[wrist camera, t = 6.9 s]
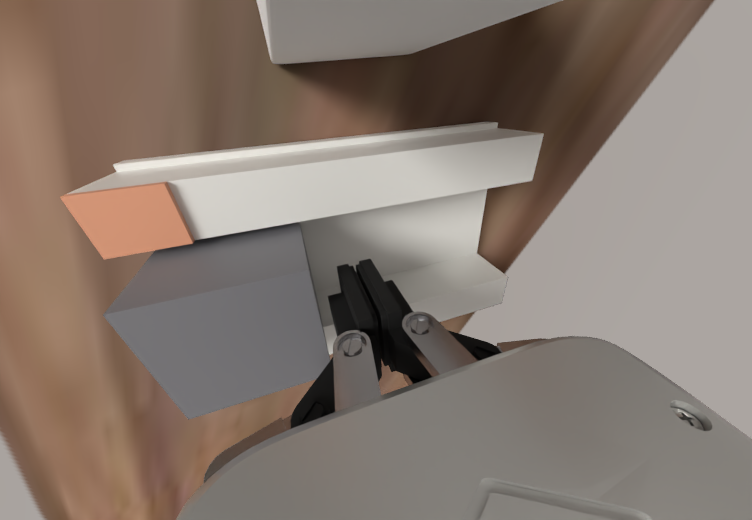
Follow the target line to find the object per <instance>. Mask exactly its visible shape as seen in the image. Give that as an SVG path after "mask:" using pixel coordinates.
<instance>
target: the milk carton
mask: <svg viewBox="0 0 752 520" xmlns="http://www.w3.org/2000/svg"><path fill="white" fill-rule="evenodd" d="M559 1H562V0H257V4H258V8H259V13H260V17H261V21H262V25H263V29H264V33H265V37H266V42H267V46H268V50H269V54H270V58H271V61H272V63H274V64H291V63H305V62H318V61H331V60H344V59H358V58H371V57H384V56H397V55H407V54H412V53H415V52H418V51H420V50H423V49H426V48H429V47H432V46H435V45H437V44H440V43H443V42H446V41H449V40H452V39H454V38H457V37H460V36H463V35H466V34H469V33H471V32H474V31H477V30H480V29H483V28H486V27H488V26H491V25H494V24H497V23H500V22H503V21H505V20H508V19H511V18H514V17H517V16H520V15H522V14H525V13H528V12H531V11H534V10H537V9H539V8H542V7H545V6H548V5H551V4H554V3H556V2H559Z"/></svg>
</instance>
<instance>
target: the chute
mask: <svg viewBox="0 0 752 520" xmlns="http://www.w3.org/2000/svg"><path fill="white" fill-rule="evenodd" d="M497 126H498V122H478V123H469V124H460V125H450V126H441V127H432V128H422V129H413V130H404V131H395V132H385V133H376V134H367V135H357V136H348V137H339V138H329V139H320V140H311V141H302V142H292V143H283V144H274V145H264V146H255V147H246V148H236V149H227V150H218V151H208V152H199V153H190V154H181V155H171V156H162V157H153V158H143V159H134V160H125V161H121V162H119V163H116V164H114V165H113V166H114V168H115V170H116V171H117V172H115V173H113V174H111V175H108V176H106V177H104V178H102V179H99V180H97V181H95V182H93V183H90V184H88V185H86V186H83V187H81V188H79V189H77V190H74V191H72V192H70V193H68V194H65V195H63V196H61V197H60V198H61V199H62V201H63V202H64V204H65V205H66V206H67V208H68V209H69V211H70V212H71V214H72V215H73V216H74V218H75V219H76V221H77V222H78V223H79V225H80V226H81V228H82V229H83V230H84V232H85V233H86V235H87V236H88V237H89V239H90V240H91V242H92V243H93V245H94V246H95V247H96V249H97V250H98V252H99V253H100V254H101V256H102V257H103V259H109V258H114V257H120V256H126V255H131V254H137V253H142V252H148V251H154V250H159V249H165V248H170V247H176V246H182V245H187V244H193V243H194V241H195V240H199V239H205V238H211V237H216V236H222V235H228V234H233V233H239V232H245V231H250V230H256V229H262V228H267V227H273V226H279V225H284V224H290V223H296V222H300V225H301V229H302V234H303V238H304V242H305V247H306V251H307V256H308V260H309V264H310V269H311V273H312V277H313V282H314V286H315V290H316V295H317V300H318V305H319V309H320V314H321V319H322V324H323V328H324V333H325V338H326V343H327V347H328V352H329V355H330V354H333V344H334V341H335V340H336V338H337V334H336V330H335V326H334V323H333V318H332V314H331V310H330V305H329V300H328V296H329V295H333V294H337V293H341V289H340V283H339V277H338V272H337V266H340V265H344V264H348V265H349V266H353V267H354V269H355V271H356V265H357V264H359V261H361V260H366V259H371V260H372V262H373V264H374V265H375V267H376V268H377V270H378V272H379V273H380V275H381V277H382V278H383V280H384V282H385V281H389V280H393V282H394V283H395V285H396V286H397V288H398V289H399V291H400V292H401V294H402V295H403V297H404V298H405V300H406V301H407V303H408V304H409V306H410V307H411V309H412V310H413V312H426V313H428V314H430V315H432V316H433V317H434V318H435V319H436V320H437V321H438V322H441V321H444V320H448V319H451V318H454V317H458V316H461V315H464V314H468V313H471V312H474V311H478V310H481V309H485V308H487V307H491V306H494V305H498V304H501V303H502V300H503V296H504V292H505V288H506V284H507V280H508V277H507V276H506V275H505V274H504V273H502V272H501V271H500V270H498V269H497V268H496V267H494V266H493V265H492V264H490V263H489V262H488V261H486V260H485V259H484V258H482V257H481V256H480V255H478V254H477V249H478V243H479V237H480V231H481V224H482V218H483V212H484V206H485V200H486V194H487V189H488V188H494V187H500V186H505V185H511V184H517V183H522V182H528V181H532V180H533V176H534V172H535V168H536V164H537V160H538V156H539V152H540V148H541V143H542V139H543V135H544V133H535V132H527V131H519V130H510V129H502V128H497Z"/></svg>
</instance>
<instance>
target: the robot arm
mask: <svg viewBox="0 0 752 520" xmlns="http://www.w3.org/2000/svg"><path fill="white" fill-rule="evenodd" d="M337 272H338V277H339V283H340V289H341V293H337V294H333V295H329V296H328V300H329V305H330V310H331V314H332V318H333V323H334V326H335V330H336V334H337V338H336V340H335V341H334V344H333V358H332V359H331V360H330V362H329V363H328V365H327V366H326V367H325V369H324V370H323V371H322V373H321V374H320V375H319V377H318V378H317V379H316V381H315V382H314V383H313V385H312V386H311V387H310V389H309V390H308V391H307V393H306V394H305V395H304V397H303V398H302V400H301V401H300V402H299V404H298V405H297V406H296V408H295V410H294V411H293V413H292V415H290V416H289V417H287V418H285V419H284V420H282V418H279V419H278V420H276V421H274V422H273V423H271V424H269V425H267V426H266V427H264V428H262V429H261V430H259V431H257V432H255V433H254V434H252V435H250V436H249V437H247V438H245V439H243V440H242V441H240V442H238V443H236V444H235V445H233V446H231V447H230V448H228V449H226V450H224V451H223V452H222V453H221V454H219V455H218V456H217V457H216V458H215V459H214V460H213V461H212V463H211V464H210V465H209V467H208V469H207V471H206V473H205V477H204V484H203V485H202V486H200V487H199V488H198V489H197V491H196V492H195V493H194V494H193V495H192V496H191V497H190V499H189V500H188V501H187V503H186V504H185V505H184V507H183V508H182V510H181V512H180V514H179V515H178V517H177V519H176V520H752V439H751V438H750V437H748V436H747V435H746V434H744V433H743V432H741V431H740V430H739V429H737V428H736V427H735V426H733V425H732V424H730V423H729V422H728V421H726V420H725V419H724V418H722V417H721V416H720V415H718V414H717V413H716V412H714V411H713V410H711V409H710V408H709V407H707V406H706V405H704V404H703V403H702V402H701V401H699V400H698V399H696V398H695V397H694V396H692V395H691V394H689V393H688V392H687V391H685V390H684V389H682V388H681V387H680V386H678V385H677V384H675V383H674V382H672V381H671V380H670V379H668V378H667V377H665V376H664V375H662V374H661V373H660V372H658V371H657V370H655V369H654V368H652V367H651V366H649V365H648V364H646V363H645V362H643V361H642V360H640V359H639V358H637V357H635V356H634V355H632V354H631V353H629V352H627V351H626V350H624V349H622V348H620V347H618V346H617V345H615V344H612V343H610V342H608V341H605V340H601V339H597V338H591V337H574V336H569V337H557V338H552V339H531V340H522V341H512V342H502V343H497V346H494V345H492V344H490V343H488V342H485V341H481V340H478V339H474V338H471V337H468V336H465V335H461V334H458V333H455V332H451V331H448V330H446V329H445V328H444V327H443V326H442V325H441V324H440V323H439V322H438V321H437V320H436V319H435V318H434V317H433V316H432V315H430V314H428V313H426V312H413V310H412V309H411V307H410V306H409V304H408V303H407V301H406V300H405V298H404V297H403V295H402V294H401V292H400V291H399V289H398V288H397V286H396V285H395V283H394V282H393V280H389V281H385V282H384V280H383V278H382V277H381V275H380V273H379V272H378V270H377V268H376V267H375V265H374V264H373V262H372V260H371V259H366V260H361V261H359V264H357V265H356V271H355V269H354V267H353V266H349V265H348V264H344V265H340V266H337ZM381 359H382V361H383V364H384V365H385V366H387V365H389V367H390V370H391V372H393V371H398V372H400V373H403V376H404V379H405V381H406V382H407V384H408V385H409V386H406V387H404V388H401V389H398V390H395V391H392V392H390V393H387V394H384V395H381V393H380V388H379V383H378V382H379V380H380V378H381V376H382V371H381V367H382V365H381Z"/></svg>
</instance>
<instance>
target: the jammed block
mask: <svg viewBox="0 0 752 520" xmlns="http://www.w3.org/2000/svg"><path fill="white" fill-rule="evenodd" d="M103 316H104V317H105V318H106V320H107V321H108V322H109V323H110V324H111V326H112V327H113V328H114V329H115V330H116V332H117V333H118V334H119V335H120V337H121V338H122V339H123V340H124V341H125V343H126V344H127V345H128V346H129V348H130V349H131V350H132V351H133V352H134V354H135V355H136V356H137V357H138V359H139V360H140V361H141V362H142V363H143V365H144V366H145V367H146V368H147V370H148V371H149V372H150V373H151V374H152V376H153V377H154V378H155V379H156V380H157V382H158V383H159V384H160V385H161V387H162V388H163V389H164V390H165V391H166V393H167V394H168V395H169V396H170V398H171V399H172V400H173V401H174V402H175V404H176V405H177V406H178V407H179V409H180V410H181V411H182V412H183V413H184V415H185V416H186V417H187V418H188V420H189V419H192V418H195V417H198V416H201V415H204V414H208V413H211V412H214V411H217V410H220V409H223V408H227V407H230V406H233V405H236V404H239V403H242V402H246V401H249V400H252V399H255V398H258V397H261V396H265V395H268V394H271V393H274V392H277V391H280V390H283V389H287V388H290V387H293V386H296V385H299V384H302V383H306V382H309V381H312V380H315V379H317V378H318V377H319V375H320V374H321V373H322V371H323V370H324V369H325V367H326V366H327V365H328V363H329V362H330V357H329V352H328V347H327V343H326V338H325V333H324V328H323V324H322V319H321V314H320V309H319V305H318V300H317V295H316V290H315V286H314V282H313V277H312V273H311V269H310V264H309V260H308V256H307V251H306V247H305V242H304V238H303V234H302V229H301V225H300V222H296V223H290V224H284V225H279V226H273V227H267V228H262V229H256V230H250V231H245V232H239V233H233V234H228V235H222V236H216V237H211V238H205V239H199V240H195V241H194V243H193V244H187V245H182V246H176V247H170V248H165V249H159V250H155V251H154V253H153V254H152V255H151V256H150V258H149V259H148V260H147V261H146V263H145V264H144V265H143V266H142V267H141V269H140V270H139V271H138V272H137V274H136V275H135V276H134V277H133V279H132V280H131V281H130V282H129V284H128V285H127V286H126V287H125V288H124V290H123V291H122V292H121V293H120V295H119V296H118V297H117V298H116V300H115V301H114V302H113V303H112V305H111V306H110V307H109V308H108V309H107V311H106V312H105V313H104V314H103Z"/></svg>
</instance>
